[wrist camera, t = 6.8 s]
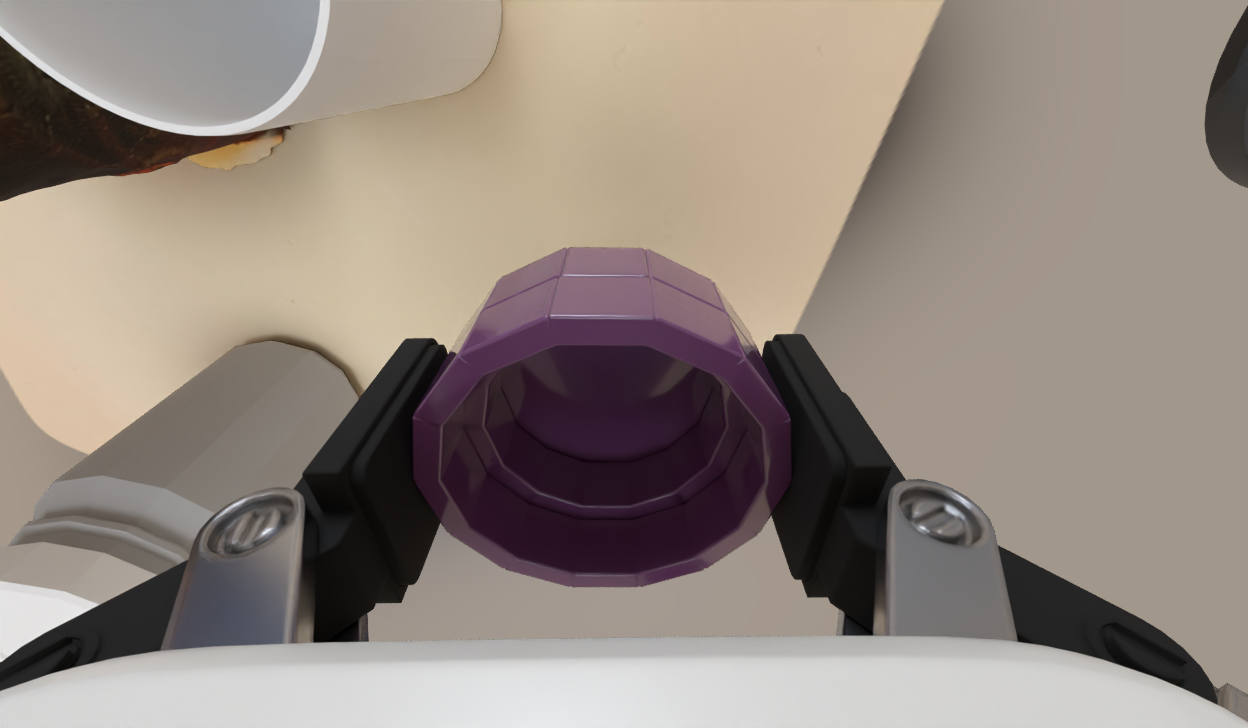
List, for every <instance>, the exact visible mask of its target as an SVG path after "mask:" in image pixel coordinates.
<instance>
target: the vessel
mask: <svg viewBox="0 0 1248 728" xmlns="http://www.w3.org/2000/svg"><path fill="white" fill-rule="evenodd" d="M283 128H285V129H289V130H291V129H290V127H289V125H288V126H282V127H277V128H272V129H266V130H261V131H256V132H251V133H245V134H238V135H228V136H195V135H187V134H179V133H174V132H169V131H164V130H160V129H156V128H153V127H150V126H146V125H143V124H140V123H137V122H135V121H132V120H130V119H127V118H124V117H122V116H120V115H117V114H115V113H113V112H111V111H109V110H107V109H105V108H103V107H100V106H99V105H97V104H95V103H93V102H91V101H89V100H88V99H86V98H84V97H82V96H80V95H79V94H77V93H76V92H74V91H72V90H71V89H69V88H68V87H66V86H64V85H63V84H61V83H60V82H58V81H57V80H55V79H54V78H53V77H51V76H50V75H48V74H47V73H46V72H44V71H43V70H41V69H40V68H38V67H37V66H36V65H35V64H33V63H32V62H31V61H30V60H28V59H27V58H26V57H25V56H23V55H22V54H21V53H20V52H18V51H17V50H16V49H15V48H13V47H12V46H11V45H10V44H9V43H8V42H7V41H6V40H4V39H3V38H2V37H1V36H0V201H4V200H8V199H10V198H13V197H15V196H18V195H21V194H24V193H27V192H31V191H34V190H38V189H43V188H48V187H52V186H56V185H60V184H63V183H67V182H71V181H75V180H80V179H86V178H92V177H100V176H126V175H131V174H141V173H148V172H152V171H155V170H158V169H161V168H163V167H165V166H168V165H172V164H176V163H178V162H179V161H180V160H181V159H183V158H185V157H187V158H188V159H189V160H191V161H193V162H195V163H197V164H199V165H201V166H204V167H206V168H220V169H224V170H228V171H230V170H231V169H232V168H234V167H235V166H236V165H248V164H255V163H256V162H257V161H259V160H260V159H261V158H265V157H268V156H269V155H271V150H270V148H271V147H274V146H276V145H278V144H279V143H281V142H282V134H283Z"/></svg>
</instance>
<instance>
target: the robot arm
mask: <svg viewBox="0 0 1248 728" xmlns="http://www.w3.org/2000/svg"><path fill="white" fill-rule="evenodd" d="M447 356H448V354H447V350H446V348H445V346H444V345H438V343H437V341H436V340H435V339H433V338H413V339H405V340H404V341H403V342H402V344H401V345H400V346H399V348H398V349H397V350H396V351H395V353H394V354H393V355H392V357H391V358H390V359H389V361H388V362H387V363H386V365H385V366H384V367H383V368H382V370H381V371H380V372H379V374H378V375H377V376H376V378H375V379H374V380H373V381H372V383H371V384H370V385H369V387H368V388H367V389H366V391H365V392H364V393H363V395H362V396H361V397H360V398H359V400H358V401H357V402H356V404H355V405H354V406H353V408H352V409H351V410H350V411H349V413H348V414H347V415H346V417H345V418H344V419H343V421H342V422H341V423H340V424H339V426H338V427H337V428H336V430H335V431H334V432H333V434H332V435H331V436H330V438H329V439H328V440H327V441H326V443H325V444H324V445H323V447H322V448H321V449H320V451H319V452H318V453H317V454H316V456H315V457H314V458H313V460H312V461H311V462H310V464H309V465H308V466H307V468H306V469H305V470H304V471H303V473H302V476H303V477H302V478H301V479H300V481H299V482H298V483H297V485H296V486H295V487H294V489H291V488H287V487H273V488H268V489H263V490H259V491H256V492H253V493H250V494H248V495H245V496H243V497H240V498H239V499H237V500H235V501H233V502H232V503H230V504H228V505H226V506H225V507H223V508H222V509H221V510H220V511H218V512H217V513H216V514H214V515H213V516H212V517H211V518H210V519H209V520H208V521H207V522H206V523H205V524H204V525H203V527H202V528H201V529H200V530H199V532H198V534H197V536H196V538H195V540H194V543H193V546H192V549H191V552H190V556H189V559H188V560H186V561H184V562H182V563H180V564H178V565H176V566H174V567H172V568H170V569H168V570H166V571H164V572H163V573H161V574H159V575H157V576H155V577H153V578H151V579H149V580H147V581H145V582H143V583H141V584H139V585H137V586H135V587H133V588H131V589H129V590H127V591H126V592H124V593H122V594H120V595H118V596H116V597H114V598H112V599H110V600H108V601H106V602H104V603H102V604H100V605H98V606H96V607H94V608H92V609H90V610H88V611H87V612H85V613H83V614H81V615H79V616H77V617H75V618H73V619H71V620H69V621H67V622H65V623H63V624H61V625H59V626H57V627H55V628H53V629H51V630H49V631H48V632H46V633H44V634H42V635H40V636H39V637H37V638H35V639H34V640H32V641H30V642H29V643H27V644H25V645H24V646H22V647H20V648H19V649H18V650H16V651H15V652H14V653H13V654H11V655H10V656H9V657H7V658H6V659H5V660H3V661H2V662H1V663H0V728H1248V694H1246V693H1244V692H1242V691H1241V690H1239V689H1237V688H1235V687H1233V686H1232V685H1230V684H1228V683H1227V684H1225V685H1224V686H1222V687H1221V688H1219V689H1218V688H1216V687H1214V686H1213V684H1212V683H1211V681H1210V680H1209V678H1208V677H1207V675H1206V674H1205V672H1204V671H1203V669H1202V668H1201V666H1200V665H1199V664H1198V663H1197V662H1196V661H1195V660H1194V659H1193V658H1192V657H1191V656H1190V655H1189V654H1188V653H1187V652H1186V651H1185V650H1184V649H1183V648H1182V647H1181V646H1180V645H1178V644H1177V643H1176V642H1175V641H1174V640H1172V639H1171V638H1170V637H1168V636H1167V635H1166V634H1165V633H1163V632H1162V631H1161V630H1159V629H1157V628H1155V627H1154V626H1152V625H1150V624H1149V623H1147V622H1145V621H1144V620H1142V619H1140V618H1139V617H1137V616H1135V615H1133V614H1131V613H1129V612H1127V611H1125V610H1123V609H1121V608H1119V607H1117V606H1115V605H1113V604H1111V603H1109V602H1107V601H1105V600H1103V599H1102V598H1100V597H1098V596H1096V595H1094V594H1092V593H1090V592H1088V591H1086V590H1084V589H1082V588H1080V587H1078V586H1076V585H1074V584H1072V583H1070V582H1068V581H1066V580H1065V579H1063V578H1061V577H1059V576H1057V575H1055V574H1053V573H1051V572H1049V571H1047V570H1045V569H1043V568H1041V567H1039V566H1037V565H1035V564H1033V563H1031V562H1029V561H1028V560H1026V559H1024V558H1022V557H1020V556H1018V555H1016V554H1014V553H1012V552H1010V551H1008V550H1006V549H1004V548H1002V547H1000V546H998V544H997V540H996V535H995V531H994V528H993V526H992V523H991V521H990V519H989V518H988V516H987V515H986V514H985V513H984V512H983V510H982V509H981V508H980V507H979V506H977V504H975V503H974V502H973V501H972V500H970V499H969V498H968V497H966V496H965V495H963V494H961V493H959V492H958V491H956V490H954V489H953V488H950V487H948V486H945V485H942V484H940V483H937V482H933V481H927V480H922V479H913V480H906V479H905V478H904V477H903V475H902V473H901V472H900V471H899V469H898V468H897V466H896V465H895V463H894V462H893V460H892V459H891V457H890V456H889V454H888V453H887V452H886V450H885V449H884V447H883V446H882V444H881V443H880V441H879V440H878V438H877V437H876V435H875V434H874V433H873V431H872V430H871V428H870V427H869V425H868V424H867V422H866V421H865V419H864V418H863V416H862V415H861V414H860V412H859V411H858V409H857V408H856V406H855V405H854V403H853V402H852V400H851V399H850V397H849V396H848V395H847V394H846V393H844V392H842V391H841V390H840V388H839V387H838V385H837V384H836V382H835V381H834V379H833V378H832V376H831V375H830V373H829V372H828V370H827V369H826V367H825V366H824V364H823V363H822V361H821V360H820V358H819V357H818V356H817V354H816V352H815V351H814V349H813V348H812V346H811V345H810V343H809V342H808V340H807V339H806V337H805V336H804V335H802V334H776V335H775V336H774V338H773V340H772V341H766V342H765V344H764V348H763V354H762V359H763V361H764V363H765V366H766V368H767V369H768V371H769V373H770V376H771V378H772V380H773V382H774V384H775V386H776V388H777V390H778V392H779V394H780V396H781V398H782V400H783V403H784V405H785V407H786V409H787V411H788V413H789V416H790V418H791V439H792V481H791V485H790V486H789V488H788V489H787V491H786V492H785V494H784V496H783V497H782V499H781V500H780V502H779V504H778V505H777V507H776V508H775V510H774V511H773V513H772V515H771V516H772V518H773V521H774V524H775V528H776V531H777V534H778V537H779V539H780V542H781V545H782V548H783V551H784V554H785V557H786V560H787V563H788V566H789V569H790V572H791V575H792V576H793V577H794V579H795V580H802V583H803V586H804V589H805V592H806V594H807V597H828V598H829V601H830V603H831V604H833V605H834V606H835V607H837V608H838V609H839V613H838V622H837V633H836V636H735V637H734V636H731V637H729V636H725V637H639V638H638V637H635V638H633V637H632V638H558V639H557V638H556V639H491V640H489V639H488V640H432V641H379V642H369V640H368V639H369V638H368V617H367V613H368V612H370V611H371V610H373V609H374V607H375V604H376V603H401V602H402V600H403V597H404V595H405V592H406V590H407V587H408V585H413V584H415V583H416V582H417V580H418V578H419V576H420V573H421V571H422V569H423V566H424V563H425V561H426V558H427V555H428V553H429V550H430V548H431V545H432V543H433V540H434V537H435V535H436V532H437V530H438V527H439V524H440V521H439V519H438V518H437V516H436V515H435V513H434V512H433V510H432V509H431V507H430V506H429V504H428V503H427V501H426V500H425V498H424V497H423V495H422V494H421V492H420V491H419V489H418V488H417V486H416V485H415V483H414V480H413V416H414V412H415V411H416V409H417V407H418V406H419V404H420V402H421V400H422V399H423V397H424V395H425V393H426V392H427V390H428V388H429V387H430V385H431V383H432V381H433V380H434V378H435V376H436V375H437V373H438V371H439V369H440V368H441V366H442V365H443V362H444V361H445V359H446V357H447Z"/></svg>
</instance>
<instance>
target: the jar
mask: <svg viewBox="0 0 1248 728" xmlns="http://www.w3.org/2000/svg"><path fill="white" fill-rule="evenodd" d="M358 400H359V398H358V396H357V394H356V392H355V390H354V389H353V387H352V385H351V384H350V382H349V381H348V379H347V377H346V376H345V374H344V372H343V371H342V370H341V369H340V368H338V367H337V366H335V365H334V364H333V363H331V362H330V361H328V360H327V359H325V358H324V357H323V356H321V355H320V354H318V353H317V352H315V351H312V350H308V349H304V348H301V347H297V346H293V345H290V344H286V343H281V342H275V341H265V342H259V343H253V344H247V345H240V346H235V347H234V348H233V349H231V350H230V351H229V352H227V353H226V354H225V355H223V356H222V357H221V358H219V359H218V360H216V361H215V362H214V363H212V364H211V365H210V366H208V367H207V368H206V369H204V370H203V371H202V372H200V373H199V374H198V375H196V376H195V377H194V378H192V379H191V380H190V381H188V382H187V383H186V384H184V385H183V386H182V387H180V388H179V389H178V390H176V391H175V392H174V393H172V394H171V395H169V396H168V397H167V398H165V399H164V400H163V401H161V402H160V403H159V404H157V405H156V406H155V407H153V408H152V409H151V410H149V411H148V412H147V413H145V414H144V415H143V416H141V417H140V418H139V419H137V420H136V421H135V422H133V423H132V424H131V425H129V426H128V427H127V428H125V429H124V430H122V431H121V432H120V433H118V434H117V435H116V436H114V437H113V438H112V439H110V440H109V441H108V442H106V443H105V444H104V445H102V446H101V447H100V448H98V449H97V450H96V451H94V452H93V453H92V454H90V455H89V456H88V457H86V458H85V459H84V460H82V461H81V462H80V463H78V464H77V465H75V466H74V467H73V468H71V469H70V470H69V471H68V472H66V473H65V474H63V475H62V476H61V477H59V478H58V479H57V480H55V481H54V482H53V483H52V484H51V485H50V487H49V488H48V490H47V491H46V492H45V493H44V495H43V496H42V497H41V499H40V500H39V501H38V503H37V504H36V505H35V508H34V515H33V521H29V522H28V523H27V524H25V525H24V526H23V527H22V528H21V529H20V531H19V532H18V533H17V535H16V536H15V537H14V539H13V540H12V541H11V543H10V544H9V545H8V546H7V547H0V661H1V662H2V661H3V660H5V659H6V658H7V657H9V656H10V655H11V654H13V653H14V652H15V651H16V650H18V649H19V648H20V647H22V646H24V645H25V644H27V643H29V642H30V641H32V640H34V639H35V638H37V637H39V636H40V635H42V634H44V633H46V632H48V631H49V630H51V629H53V628H55V627H57V626H59V625H61V624H63V623H65V622H67V621H69V620H71V619H73V618H75V617H77V616H79V615H81V614H83V613H85V612H87V611H88V610H90V609H92V608H94V607H96V606H98V605H100V604H102V603H104V602H106V601H108V600H110V599H112V598H114V597H116V596H118V595H120V594H122V593H124V592H126V591H127V590H129V589H131V588H133V587H135V586H137V585H139V584H141V583H143V582H145V581H147V580H149V579H151V578H153V577H155V576H157V575H159V574H161V573H163V572H164V571H166V570H168V569H170V568H172V567H174V566H176V565H178V564H180V563H182V562H184V561H186V560H188V559H189V556H190V552H191V549H192V546H193V543H194V540H195V538H196V536H197V534H198V532H199V530H200V529H201V528H202V527H203V525H204V524H205V523H206V522H207V521H208V520H209V519H210V518H211V517H212V516H213V515H214V514H216V513H217V512H218V511H220V510H221V509H222V508H223V507H225V506H226V505H228V504H230V503H232V502H233V501H235V500H237V499H239V498H240V497H243V496H245V495H248V494H250V493H253V492H256V491H259V490H263V489H268V488H273V487H287V488H291V489H294V487H295V486H296V485H297V483H298V482H299V481H300V479H301V478H302V477H303V476H302V473H303V471H304V470H305V469H306V468H307V466H308V465H309V464H310V462H311V461H312V460H313V458H314V457H315V456H316V454H317V453H318V452H319V451H320V449H321V448H322V447H323V445H324V444H325V443H326V441H327V440H328V439H329V438H330V436H331V435H332V434H333V432H334V431H335V430H336V428H337V427H338V426H339V424H340V423H341V422H342V421H343V419H344V418H345V417H346V415H347V414H348V413H349V411H350V410H351V409H352V408H353V406H354V405H355V404H356V402H357V401H358Z"/></svg>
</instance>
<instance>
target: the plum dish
mask: <svg viewBox="0 0 1248 728" xmlns="http://www.w3.org/2000/svg"><path fill="white" fill-rule="evenodd" d="M413 480H414V483H415V485H416V486H417V488H418V489H419V491H420V492H421V494H422V495H423V497H424V498H425V500H426V501H427V503H428V504H429V506H430V507H431V509H432V510H433V512H434V513H435V515H436V516H437V518H438V519H439V521H440V522H441V524H442V525H443V527H444V528H445V530H446V531H447V532H448V533H450V535H451V536H453V537H454V538H456V539H458V540H459V541H461V542H462V543H464V544H465V545H467V546H468V547H470V548H472V549H473V550H475V551H476V552H478V553H479V554H481V555H483V556H484V557H486V558H487V559H489V560H490V561H492V562H493V563H495V564H497V565H498V566H500V567H501V568H505V569H506V570H509V571H512V572H516V573H520V574H523V575H527V576H531V577H534V578H538V579H542V580H546V581H549V582H553V583H557V584H560V585H564V586H568V587H569V586H571V587H639V586H640V587H643V586H647V585H650V584H654V583H658V582H661V581H665V580H669V579H672V578H676V577H680V576H684V575H687V574H691V573H695V572H698V571H702V570H704V568H708V567H710V566H711V565H713V564H714V563H716V562H717V561H719V560H720V559H722V558H723V557H725V556H726V555H728V554H730V553H731V552H733V551H734V550H735V549H737V548H738V547H740V546H742V545H743V544H745V543H746V542H748V541H749V540H751V539H752V538H754V537H755V536H757V535H758V533H760V532H761V530H762V529H763V527H764V525H765V524H766V522H767V521H768V519H769V518H770V516H771V515H772V513H773V511H774V510H775V508H776V507H777V505H778V504H779V502H780V500H781V499H782V497H783V496H784V494H785V492H786V491H787V489H788V488H789V486H790V485H791V481H792V439H791V418H790V416H789V413H788V411H787V409H786V407H785V405H784V403H783V400H782V398H781V396H780V394H779V392H778V390H777V388H776V386H775V384H774V382H773V380H772V378H771V376H770V373H769V371H768V369H767V368H766V366H765V363H764V361H763V359H762V357H761V355H760V353H759V351H758V349H757V346H756V344H755V342H754V340H753V338H752V336H751V334H750V332H749V330H748V329H747V327H746V326H745V325H744V323H743V322H742V320H741V319H740V318H739V316H738V315H737V313H736V312H735V311H734V309H733V308H732V306H731V305H730V304H729V302H728V301H727V299H726V298H725V297H724V295H723V294H722V292H721V291H720V290H719V288H718V287H717V285H716V284H715V283H714V282H712V281H711V280H710V279H708V278H706V277H704V276H702V275H700V274H698V273H696V272H694V271H692V270H690V269H688V268H686V267H684V266H682V265H680V264H678V263H676V262H674V261H672V260H670V259H668V258H666V257H664V256H662V255H659V254H657V253H655V252H653V251H651V250H649V249H646V250H645V249H643V248H589V247H571V248H568V249H567V248H563V249H561V250H559V251H556V252H554V253H552V254H550V255H548V256H546V257H544V258H541V259H539V260H537V261H535V262H533V263H531V264H529V265H527V266H524V267H522V268H520V269H518V270H516V271H514V272H512V273H510V274H507V275H505V276H503V277H501V279H499V280H498V281H497V282H496V284H495V285H494V286H493V288H492V289H491V291H490V292H489V293H488V295H487V296H486V298H485V299H484V300H483V302H482V303H481V304H480V306H479V307H478V309H477V310H476V311H475V313H474V314H473V316H472V317H471V318H470V320H469V321H468V323H467V324H466V325H465V327H464V328H463V330H462V331H461V333H460V335H459V337H458V338H457V340H456V342H455V344H454V345H453V347H452V349H451V350H450V352H449V354H448V356H447V357H446V359H445V361H444V362H443V365H442V366H441V368H440V369H439V371H438V373H437V375H436V376H435V378H434V380H433V381H432V383H431V385H430V387H429V388H428V390H427V392H426V393H425V395H424V397H423V399H422V400H421V402H420V404H419V406H418V407H417V409H416V411H415V412H414V416H413Z"/></svg>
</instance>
